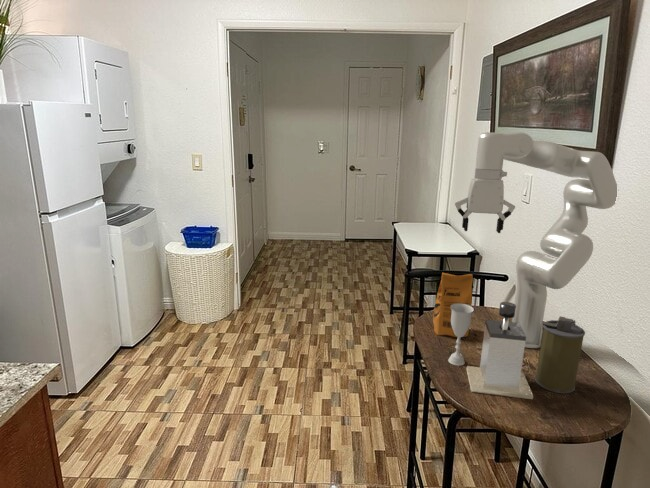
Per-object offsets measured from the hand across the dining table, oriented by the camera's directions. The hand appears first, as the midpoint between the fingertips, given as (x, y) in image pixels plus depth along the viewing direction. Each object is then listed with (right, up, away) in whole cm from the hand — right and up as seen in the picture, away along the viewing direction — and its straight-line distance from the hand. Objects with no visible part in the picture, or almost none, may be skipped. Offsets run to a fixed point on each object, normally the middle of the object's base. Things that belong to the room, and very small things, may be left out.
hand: (481, 231), depth 135 cm
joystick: (+1, -44, -9) cm, 45 cm away
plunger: (+1, -42, -10) cm, 43 cm away
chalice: (-7, -41, +3) cm, 42 cm away
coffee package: (-3, -36, +24) cm, 43 cm away
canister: (+18, -44, -8) cm, 48 cm away
